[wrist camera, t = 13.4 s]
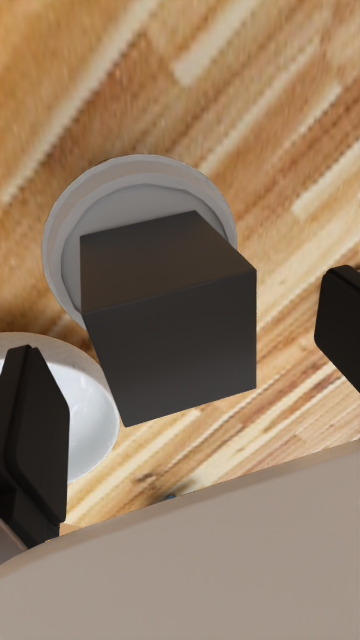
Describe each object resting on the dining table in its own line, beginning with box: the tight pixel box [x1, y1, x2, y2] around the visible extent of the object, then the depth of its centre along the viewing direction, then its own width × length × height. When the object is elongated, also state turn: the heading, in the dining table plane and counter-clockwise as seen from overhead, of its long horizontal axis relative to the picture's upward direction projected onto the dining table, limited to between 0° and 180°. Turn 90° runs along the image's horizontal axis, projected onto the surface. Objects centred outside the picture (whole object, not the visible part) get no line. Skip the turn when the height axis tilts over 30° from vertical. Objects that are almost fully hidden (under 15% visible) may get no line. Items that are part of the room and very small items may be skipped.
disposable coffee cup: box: [41, 154, 237, 331], centre depth 20 cm, size 10×10×12 cm
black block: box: [80, 210, 257, 428], centre depth 13 cm, size 5×5×6 cm
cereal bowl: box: [0, 332, 120, 484], centre depth 29 cm, size 17×17×7 cm
